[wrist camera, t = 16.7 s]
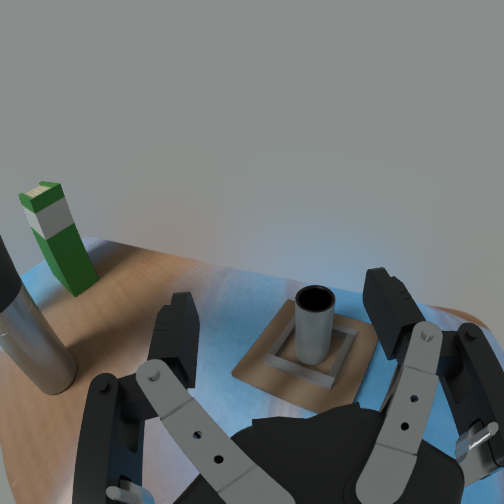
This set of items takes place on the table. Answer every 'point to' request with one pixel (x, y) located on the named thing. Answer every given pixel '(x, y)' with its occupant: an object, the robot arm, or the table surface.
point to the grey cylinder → (313, 323)
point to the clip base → (309, 376)
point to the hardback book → (58, 237)
